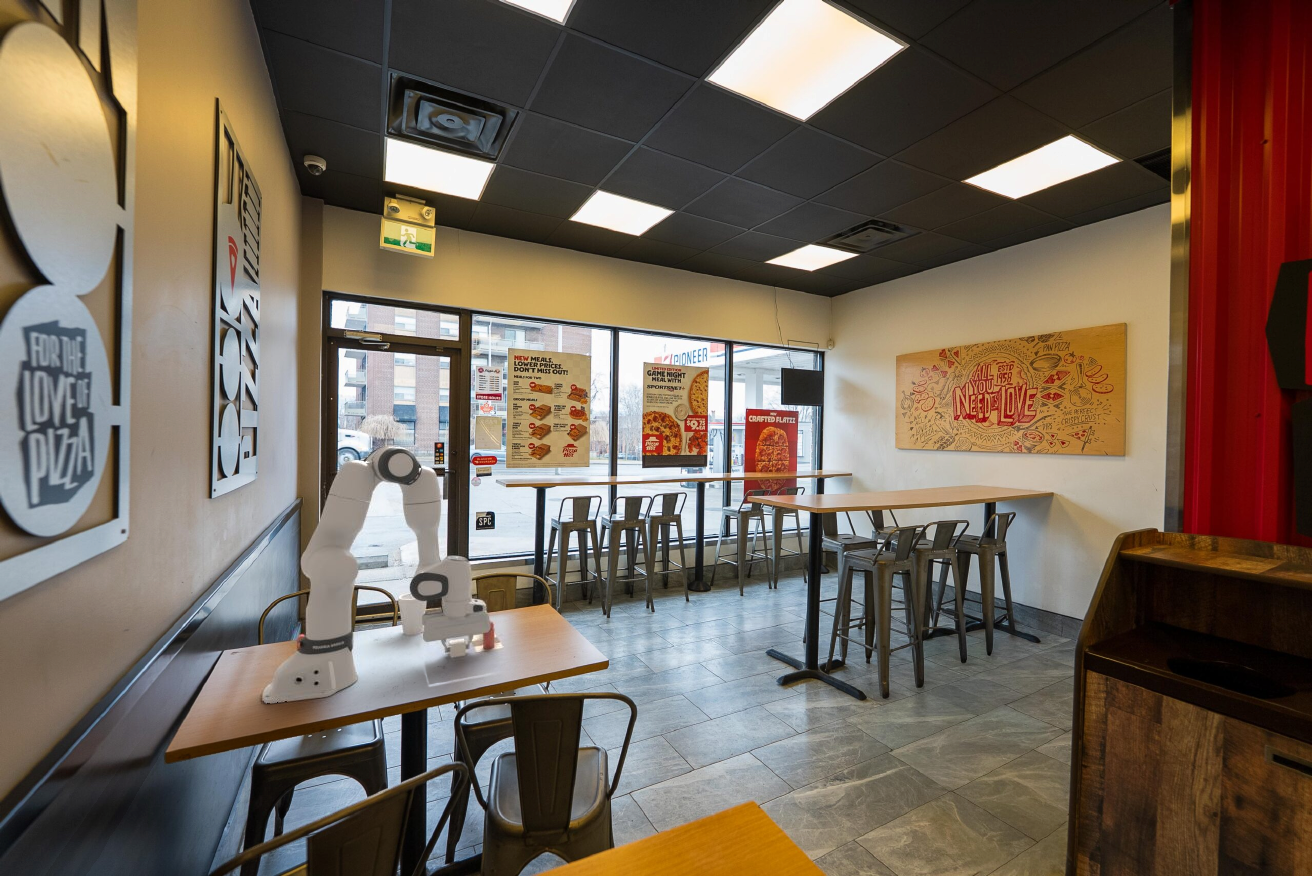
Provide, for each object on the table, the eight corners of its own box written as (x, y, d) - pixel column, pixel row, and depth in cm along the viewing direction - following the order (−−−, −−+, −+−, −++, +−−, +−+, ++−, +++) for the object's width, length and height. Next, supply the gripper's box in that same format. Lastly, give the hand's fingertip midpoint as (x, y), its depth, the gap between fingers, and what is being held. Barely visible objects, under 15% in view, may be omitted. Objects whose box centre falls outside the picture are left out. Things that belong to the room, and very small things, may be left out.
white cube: (450, 659, 172) (450, 645, 172) (448, 654, 176) (448, 640, 176) (465, 656, 175) (465, 642, 175) (463, 652, 179) (463, 638, 179)
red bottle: (484, 649, 179) (484, 623, 179) (482, 646, 182) (482, 620, 182) (495, 648, 180) (495, 621, 180) (493, 644, 183) (493, 618, 183)
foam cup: (418, 625, 204) (418, 590, 204) (432, 630, 198) (432, 594, 198) (393, 633, 196) (393, 596, 196) (407, 638, 190) (407, 601, 190)
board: (476, 654, 176) (476, 652, 176) (463, 628, 201) (463, 626, 201) (504, 649, 181) (504, 647, 181) (488, 624, 205) (488, 622, 205)
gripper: (422, 614, 168) (422, 659, 168) (491, 605, 177) (491, 647, 177) (421, 608, 174) (421, 652, 174) (487, 600, 183) (487, 641, 183)
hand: (457, 650), depth 176 cm, fingers closed on white cube, 4 cm apart
